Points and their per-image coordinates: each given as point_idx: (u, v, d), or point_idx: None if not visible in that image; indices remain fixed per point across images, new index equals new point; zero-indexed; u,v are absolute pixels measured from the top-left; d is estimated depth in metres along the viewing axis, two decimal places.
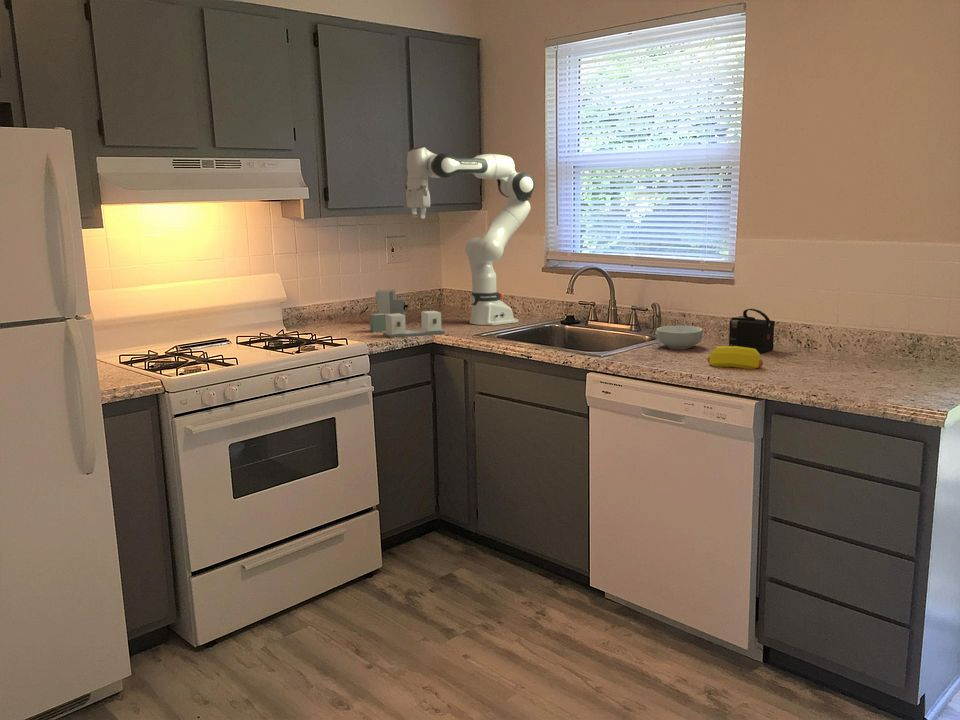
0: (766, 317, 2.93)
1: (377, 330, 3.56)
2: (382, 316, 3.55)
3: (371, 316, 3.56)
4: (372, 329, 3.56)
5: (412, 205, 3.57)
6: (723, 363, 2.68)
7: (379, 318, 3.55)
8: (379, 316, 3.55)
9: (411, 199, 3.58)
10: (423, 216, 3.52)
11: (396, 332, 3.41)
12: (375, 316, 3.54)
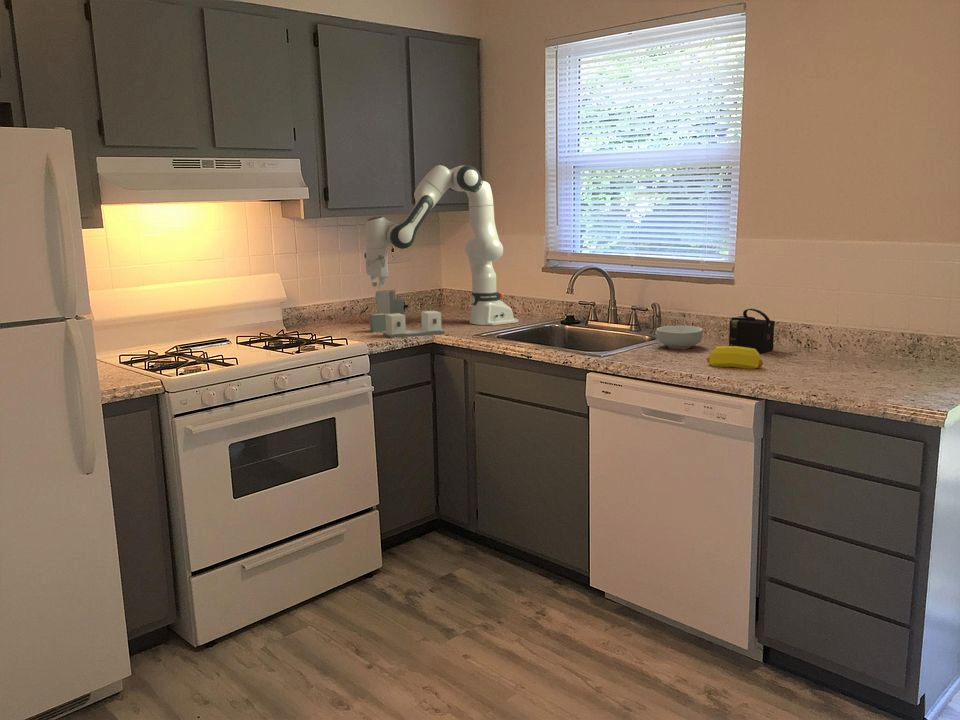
0: (766, 317, 2.93)
1: (377, 330, 3.56)
2: (382, 316, 3.55)
3: (371, 316, 3.56)
4: (372, 329, 3.56)
5: (371, 274, 3.56)
6: (723, 363, 2.68)
7: (379, 318, 3.55)
8: (379, 316, 3.55)
9: (370, 268, 3.57)
10: (381, 286, 3.50)
11: (396, 332, 3.41)
12: (375, 316, 3.54)
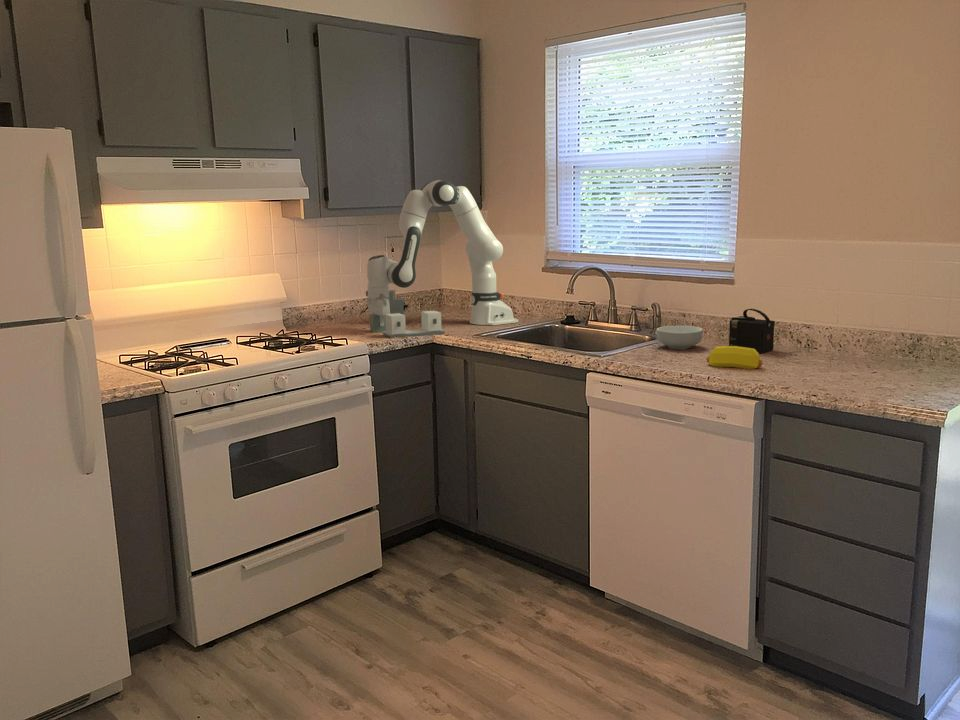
0: (766, 317, 2.93)
1: (377, 330, 3.55)
2: None
3: (371, 316, 3.56)
4: (372, 329, 3.56)
5: (373, 311, 3.59)
6: (722, 363, 2.68)
7: (379, 318, 3.55)
8: None
9: (371, 305, 3.60)
10: (382, 324, 3.54)
11: (396, 332, 3.41)
12: (375, 316, 3.54)
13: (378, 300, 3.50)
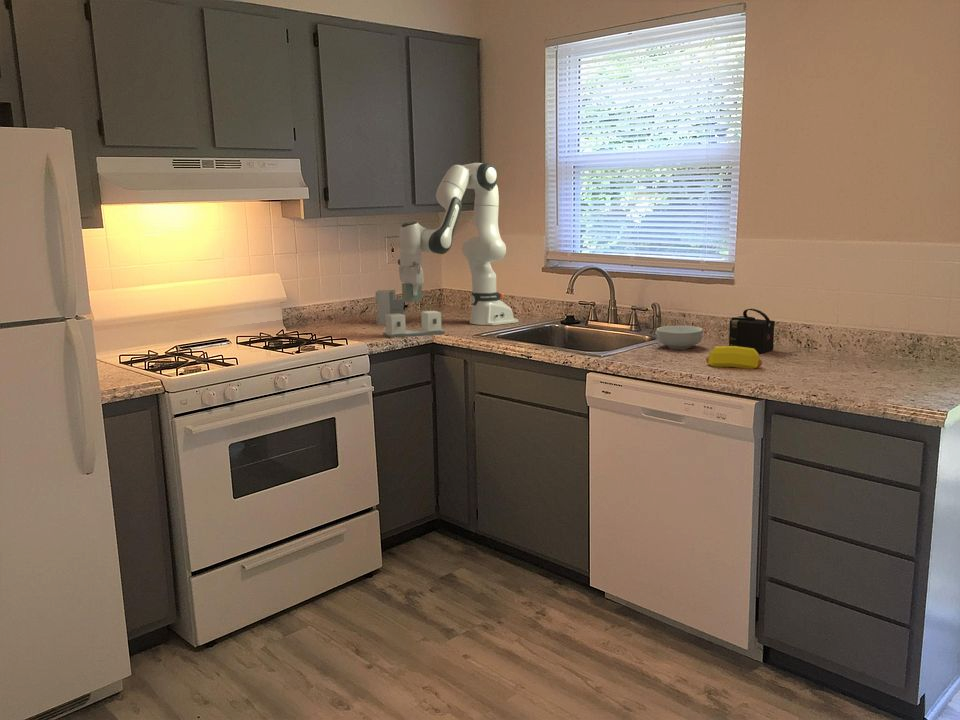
0: (766, 317, 2.93)
1: (410, 299, 3.43)
2: None
3: (403, 285, 3.43)
4: (405, 298, 3.44)
5: (405, 281, 3.46)
6: (722, 363, 2.68)
7: (412, 287, 3.42)
8: (412, 285, 3.42)
9: (404, 275, 3.47)
10: (415, 293, 3.42)
11: (396, 332, 3.41)
12: (408, 285, 3.41)
13: (411, 268, 3.38)
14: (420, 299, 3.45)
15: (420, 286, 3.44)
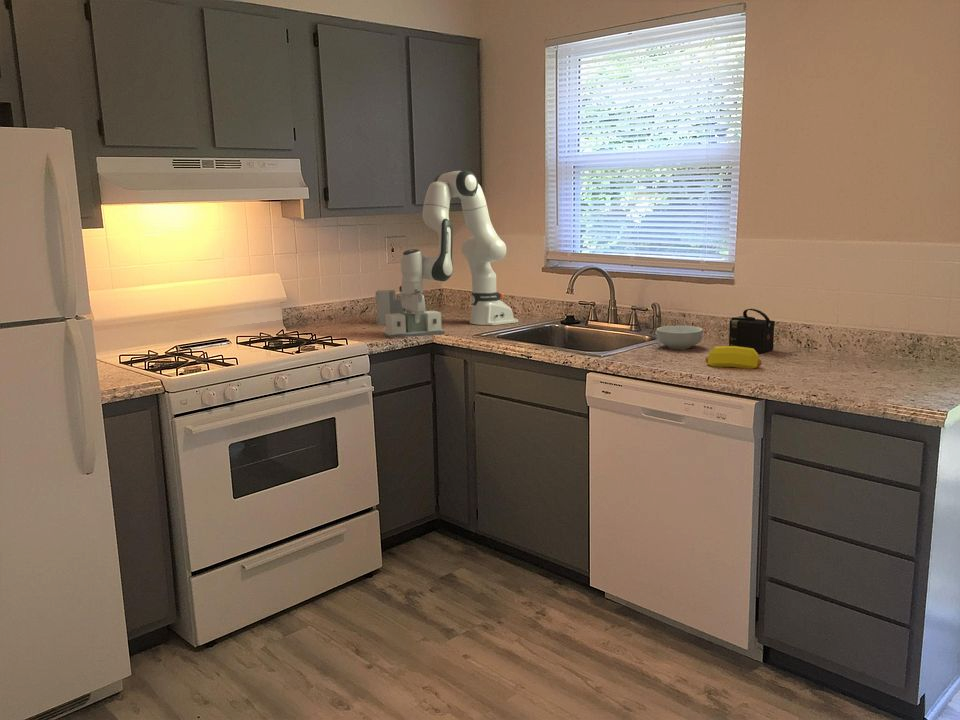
0: (766, 317, 2.93)
1: (411, 330, 3.45)
2: None
3: (405, 315, 3.45)
4: (406, 329, 3.46)
5: (407, 308, 3.48)
6: (722, 363, 2.68)
7: (413, 317, 3.44)
8: (414, 315, 3.44)
9: (405, 301, 3.49)
10: (417, 320, 3.43)
11: (396, 332, 3.41)
12: (409, 315, 3.44)
13: (413, 296, 3.39)
14: (422, 329, 3.47)
15: (422, 316, 3.46)
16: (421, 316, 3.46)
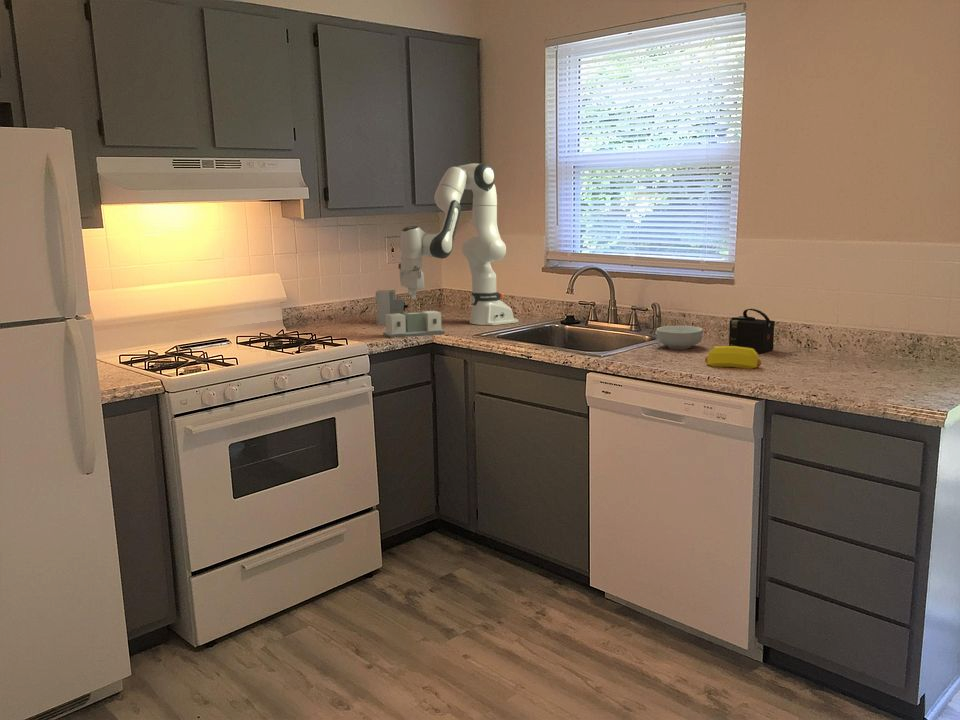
0: (766, 317, 2.93)
1: (411, 330, 3.45)
2: (417, 315, 3.45)
3: (405, 315, 3.45)
4: (406, 329, 3.46)
5: (406, 285, 3.46)
6: (721, 363, 2.69)
7: (413, 317, 3.44)
8: (414, 315, 3.44)
9: (404, 279, 3.47)
10: (414, 297, 3.44)
11: (396, 332, 3.41)
12: (409, 315, 3.44)
13: (412, 272, 3.38)
14: (422, 329, 3.47)
15: (422, 316, 3.46)
16: (421, 316, 3.46)
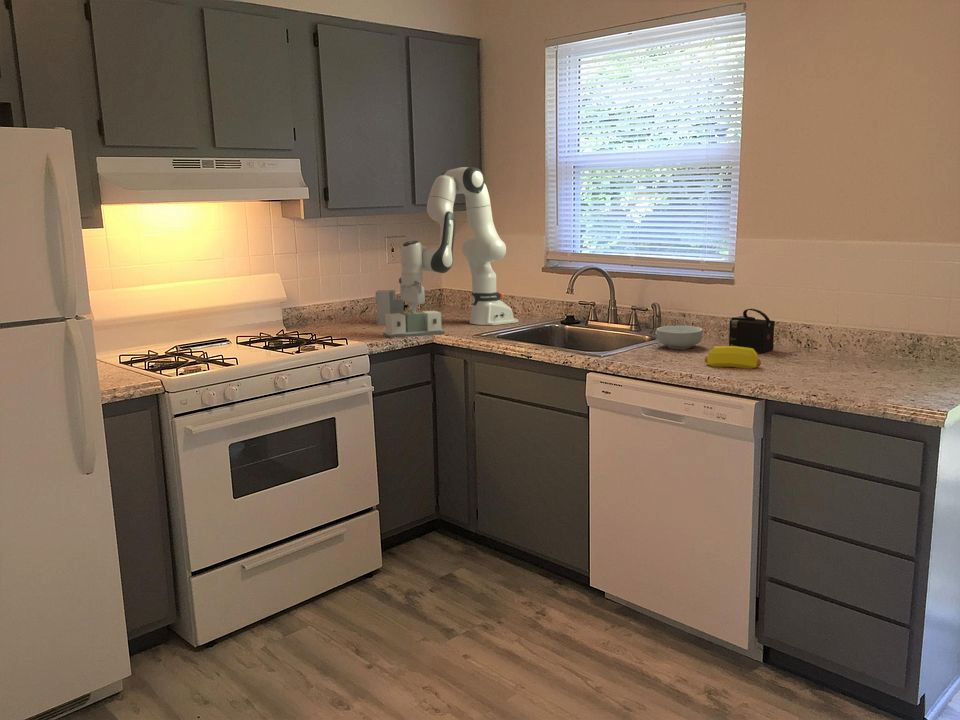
0: (766, 317, 2.93)
1: (411, 330, 3.45)
2: (417, 315, 3.45)
3: (405, 315, 3.45)
4: (406, 329, 3.46)
5: (406, 299, 3.47)
6: (721, 363, 2.68)
7: (413, 317, 3.44)
8: (414, 315, 3.44)
9: (405, 293, 3.48)
10: (414, 311, 3.45)
11: (396, 332, 3.41)
12: (409, 315, 3.44)
13: (413, 287, 3.39)
14: (422, 329, 3.47)
15: (422, 316, 3.46)
16: (421, 316, 3.46)
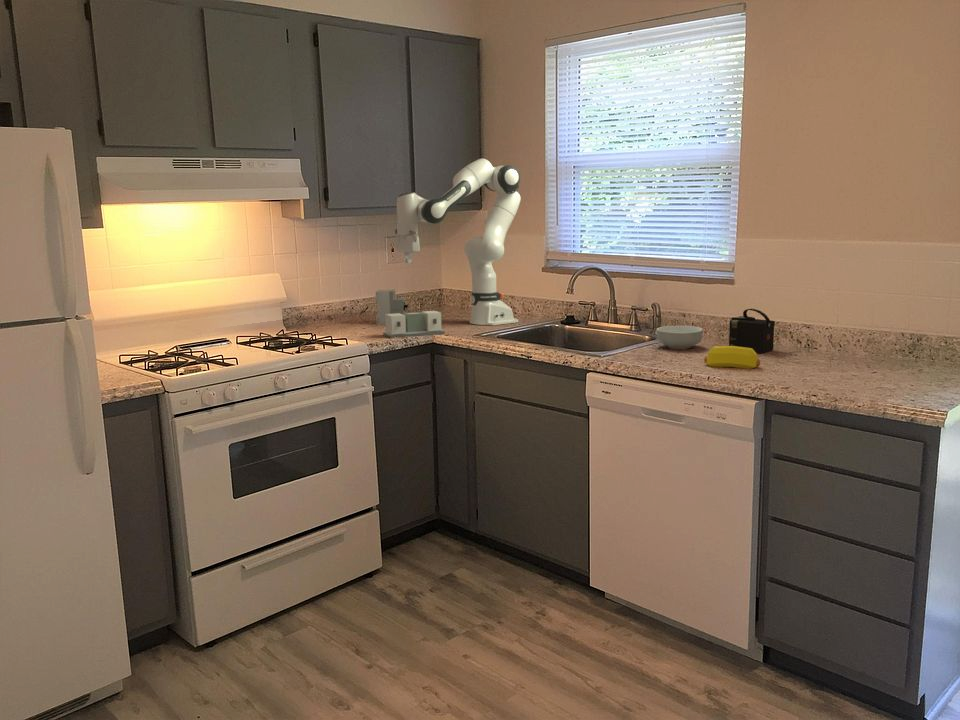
0: (766, 317, 2.93)
1: (411, 330, 3.45)
2: (417, 315, 3.45)
3: (405, 315, 3.45)
4: (406, 329, 3.46)
5: (402, 249, 3.58)
6: (721, 363, 2.69)
7: (413, 317, 3.44)
8: (414, 315, 3.44)
9: (401, 244, 3.59)
10: (409, 260, 3.56)
11: (396, 332, 3.41)
12: (409, 315, 3.44)
13: (408, 236, 3.50)
14: (422, 329, 3.47)
15: (422, 316, 3.46)
16: (421, 316, 3.46)
